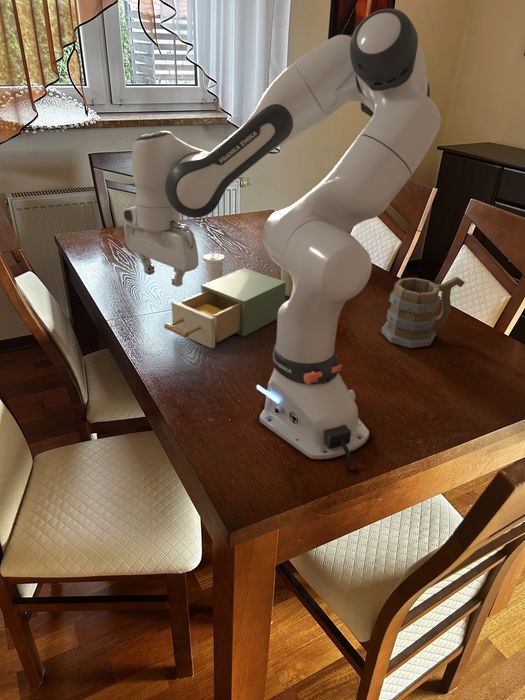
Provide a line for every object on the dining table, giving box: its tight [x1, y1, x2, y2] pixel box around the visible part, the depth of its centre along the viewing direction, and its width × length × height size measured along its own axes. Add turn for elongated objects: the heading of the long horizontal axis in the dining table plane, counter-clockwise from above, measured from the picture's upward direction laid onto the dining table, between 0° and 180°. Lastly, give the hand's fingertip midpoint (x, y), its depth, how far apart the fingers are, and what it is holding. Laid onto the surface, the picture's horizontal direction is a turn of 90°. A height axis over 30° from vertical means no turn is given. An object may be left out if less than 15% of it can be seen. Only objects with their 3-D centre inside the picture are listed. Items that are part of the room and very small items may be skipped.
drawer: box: [163, 290, 242, 349], centre depth 130 cm, size 21×14×8 cm, turn 141°
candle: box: [280, 267, 293, 297], centre depth 155 cm, size 6×6×10 cm
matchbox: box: [195, 303, 223, 317], centre depth 132 cm, size 8×6×4 cm, turn 50°
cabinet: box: [200, 267, 286, 337], centre depth 140 cm, size 17×15×10 cm
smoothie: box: [202, 241, 226, 283], centre depth 156 cm, size 6×6×14 cm
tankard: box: [380, 276, 466, 349], centre depth 133 cm, size 20×13×15 cm, turn 105°
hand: (163, 279), depth 115 cm, fingers open, 8 cm apart
